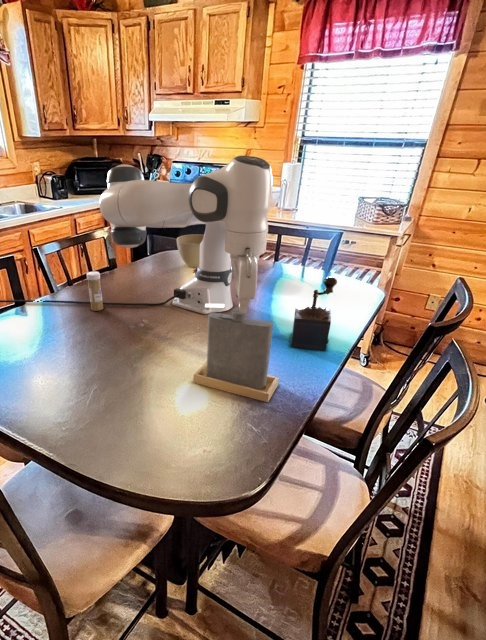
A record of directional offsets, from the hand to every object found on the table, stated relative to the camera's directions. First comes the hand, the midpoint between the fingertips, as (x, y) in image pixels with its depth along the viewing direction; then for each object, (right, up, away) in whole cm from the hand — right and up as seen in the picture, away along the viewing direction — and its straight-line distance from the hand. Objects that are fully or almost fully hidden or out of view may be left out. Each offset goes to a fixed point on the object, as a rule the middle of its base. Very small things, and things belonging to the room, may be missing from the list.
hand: (241, 303), depth 96 cm
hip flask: (0, -18, +12) cm, 22 cm away
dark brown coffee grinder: (+27, -4, +34) cm, 43 cm away
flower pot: (-6, +38, +101) cm, 108 cm away
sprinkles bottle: (-44, +9, +57) cm, 72 cm away
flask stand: (0, -19, +12) cm, 22 cm away
